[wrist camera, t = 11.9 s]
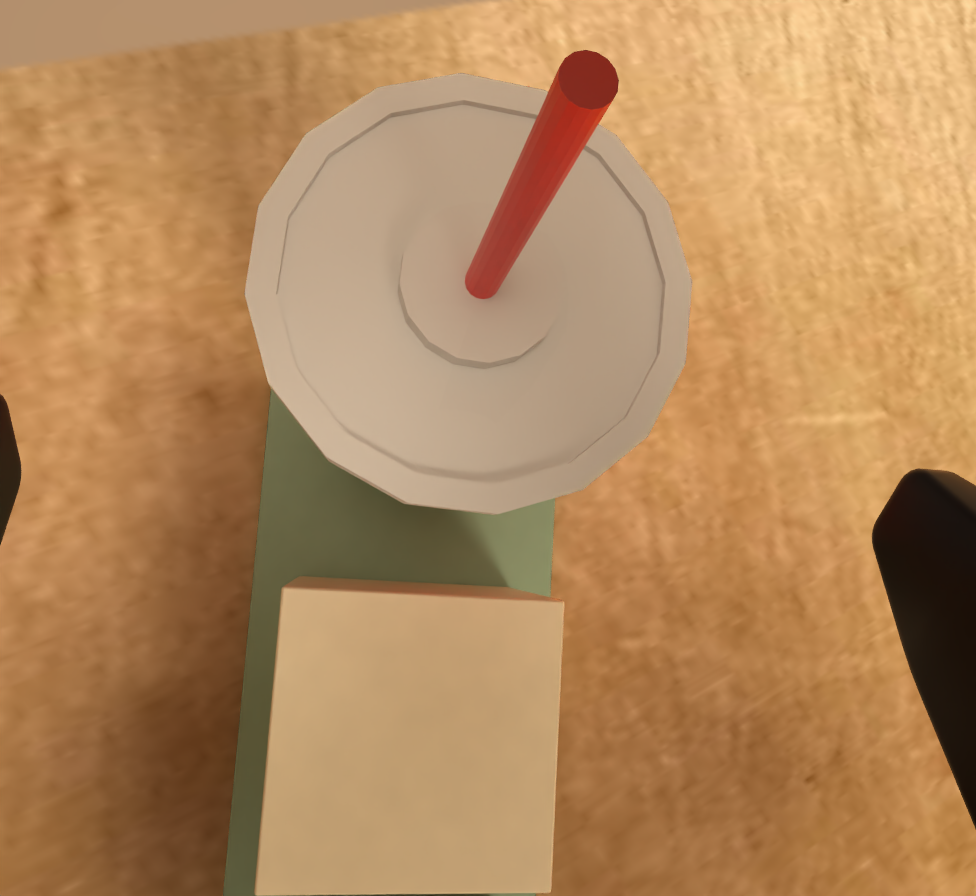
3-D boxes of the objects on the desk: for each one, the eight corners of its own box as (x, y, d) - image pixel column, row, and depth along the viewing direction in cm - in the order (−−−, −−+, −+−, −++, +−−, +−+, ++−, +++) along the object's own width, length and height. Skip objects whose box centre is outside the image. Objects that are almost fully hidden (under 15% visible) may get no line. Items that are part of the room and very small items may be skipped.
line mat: (517, 1222, 18) (520, 1233, 18) (191, 1247, 17) (188, 1259, 17) (562, 294, 21) (565, 290, 21) (284, 262, 20) (283, 258, 20)
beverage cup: (572, 328, 21) (1017, -95, 7) (500, 561, 20) (857, 597, 6) (339, 242, 20) (330, -421, 6) (251, 481, 19) (12, 313, 5)
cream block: (498, 805, 19) (551, 894, 14) (277, 802, 18) (253, 897, 13) (510, 587, 20) (565, 600, 15) (297, 575, 19) (281, 586, 14)
